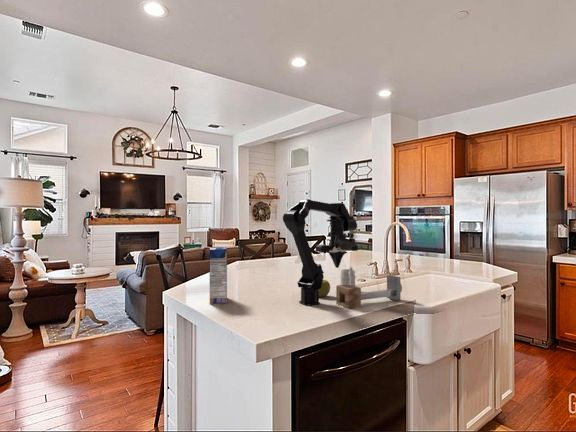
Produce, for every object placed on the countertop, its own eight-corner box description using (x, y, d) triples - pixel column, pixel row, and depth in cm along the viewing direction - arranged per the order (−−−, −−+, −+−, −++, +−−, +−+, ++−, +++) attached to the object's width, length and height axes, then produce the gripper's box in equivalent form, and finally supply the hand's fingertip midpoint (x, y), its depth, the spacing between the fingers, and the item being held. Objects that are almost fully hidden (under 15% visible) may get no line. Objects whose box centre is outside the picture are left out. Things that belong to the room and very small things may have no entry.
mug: (353, 289, 174) (353, 264, 174) (360, 294, 162) (360, 267, 162) (338, 289, 173) (338, 264, 173) (344, 294, 161) (344, 268, 161)
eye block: (348, 308, 136) (348, 289, 136) (336, 304, 143) (336, 285, 143) (360, 307, 138) (360, 287, 139) (348, 302, 146) (348, 284, 146)
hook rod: (356, 305, 139) (356, 281, 139) (347, 302, 144) (347, 278, 144) (402, 299, 149) (402, 276, 149) (392, 296, 154) (392, 274, 155)
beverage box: (209, 304, 143) (209, 249, 144) (210, 298, 154) (210, 247, 154) (226, 303, 145) (226, 249, 145) (226, 297, 156) (226, 247, 156)
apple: (328, 299, 153) (328, 282, 153) (310, 297, 155) (310, 281, 155) (331, 295, 160) (331, 279, 160) (314, 294, 162) (314, 278, 162)
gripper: (328, 232, 144) (328, 271, 144) (366, 232, 152) (366, 268, 152) (314, 232, 154) (314, 268, 154) (350, 231, 162) (350, 265, 162)
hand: (337, 267), depth 155 cm, fingers closed
